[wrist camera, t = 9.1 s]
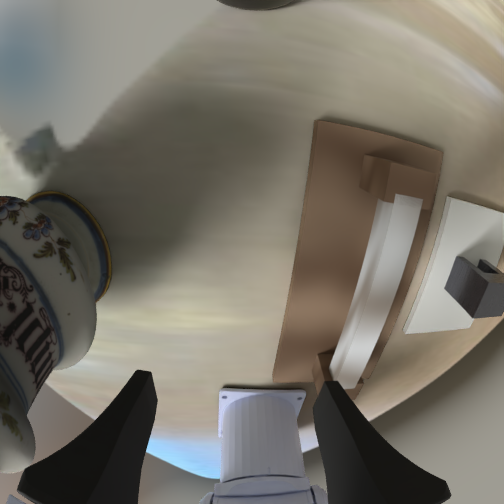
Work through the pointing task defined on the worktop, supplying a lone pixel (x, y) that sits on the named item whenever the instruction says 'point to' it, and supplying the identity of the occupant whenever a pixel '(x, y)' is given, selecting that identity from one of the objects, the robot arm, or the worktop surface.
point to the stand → (354, 253)
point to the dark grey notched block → (477, 287)
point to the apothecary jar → (43, 304)
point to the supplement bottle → (255, 4)
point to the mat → (442, 259)
